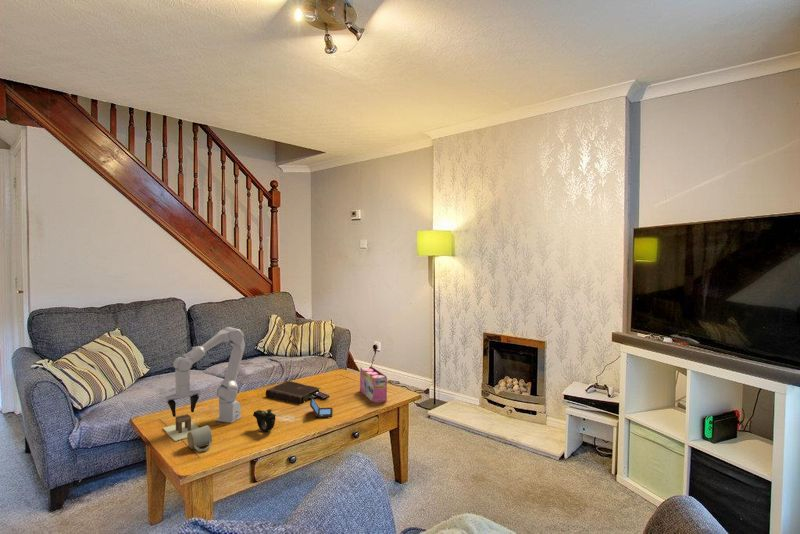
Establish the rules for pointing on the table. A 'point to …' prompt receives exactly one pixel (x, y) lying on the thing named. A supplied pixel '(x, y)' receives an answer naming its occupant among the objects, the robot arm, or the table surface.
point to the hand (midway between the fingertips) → (183, 413)
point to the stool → (183, 418)
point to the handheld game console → (320, 410)
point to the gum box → (373, 384)
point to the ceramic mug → (200, 438)
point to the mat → (174, 434)
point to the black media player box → (291, 392)
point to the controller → (265, 419)
